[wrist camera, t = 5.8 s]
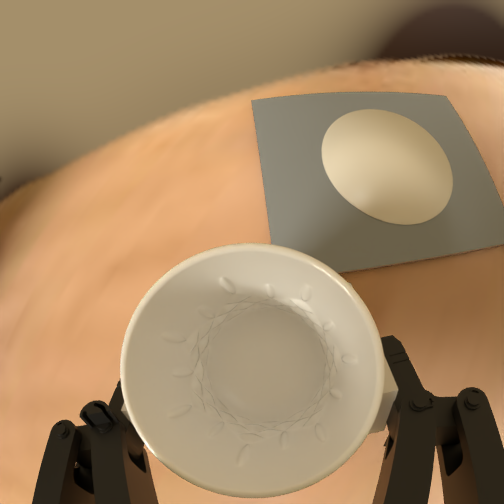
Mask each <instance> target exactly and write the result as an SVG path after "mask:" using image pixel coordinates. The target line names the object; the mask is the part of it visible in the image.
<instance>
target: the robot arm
mask: <svg viewBox="0 0 504 504" xmlns="http://www.w3.org/2000/svg"><path fill="white" fill-rule="evenodd" d="M349 284H350V285H351V286H352V284H351V283H349ZM352 288H353V286H352ZM381 342H382V347H383V352H384V360H385V383H384V391H383V396H382V401H381V405H380V408H379V411H378V414H377V417H376V419H375V421H374V424H373V426H372V428H371V430H370V431H369V433H368V434H371V433H375V432H379V431H383V430H384V429H385V426H386V424H387V426H388V430H389V435H388V437H387V439H386V442H385V444H384V446H386V448H385V453H384V458H383V463H382V467H381V472H380V476H379V480H378V484H377V488H376V492H375V496H374V499H373V503H372V504H428V498H429V492H430V486H431V479H432V471H433V463H434V453H435V446H436V448H437V453H438V459H439V465H440V472H441V479H442V487H443V496H444V504H504V448H503V445H502V441H501V438H500V434H499V431H498V428H497V425H496V422H495V419H494V416H493V413H492V410H491V407H490V404H489V402H488V399H487V397H486V395H485V393H484V392H483V391H481V390H480V389H478V388H474V387H470V388H466V389H464V390H462V391H461V392H460V393H459V394H458V396H457V397H437V396H434V395H433V394H432V393H430V392H429V391H427V390H425V389H424V388H423V386H422V384H421V382H420V380H419V378H418V376H417V374H416V372H415V369H414V367H413V365H412V363H411V361H409V357H408V355H407V353H406V351H405V349H404V347H403V345H402V343H401V342H400V341H399V340H397V339H396V338H395V337H394V336H393V335H391V336H387V337H382V338H381ZM80 418H81V419H82V420H83V421H84V422H85V423H86V424H87V425H83V426H75V425H74V424H73V423H72V422H71V421H69V420H61V421H59V422H57V423H56V424H55V425H54V426H53V428H52V430H51V432H50V436H49V439H48V442H47V445H46V449H45V452H44V456H43V460H42V463H41V467H40V471H39V475H38V479H37V483H36V488H35V492H34V497H33V502H32V504H158V500H157V496H156V492H155V488H154V484H153V479H152V475H151V470H150V466H149V461H148V456H147V453H146V450H145V449H144V448H143V447H144V442H143V441H142V439H141V438H140V436H139V434H138V433H137V431H136V429H135V427H134V425H133V423H132V421H131V419H130V417H129V414H128V411H127V409H126V405H125V402H124V398H123V393H122V388H121V379H120V381H119V382H118V384H117V388H116V389H115V391H114V394H113V396H112V398H111V401H110V403H109V406H108V405H107V404H106V403H105V402H103V401H100V400H98V401H92V402H90V403H88V404H87V405H85V406H84V407H83V409H82V410H81V412H80ZM76 462H77V463H76ZM75 464H76V466H75Z"/></svg>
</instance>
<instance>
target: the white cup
mask: <svg viewBox="0 0 504 504" xmlns="http://www.w3.org/2000/svg"><path fill="white" fill-rule="evenodd" d="M120 379H121V388H122V393H123V398H124V402H125V405H126V409H127V411H128V414H129V417H130V419H131V421H132V423H133V425H134V427H135V429H136V431H137V433H138V434H139V436H140V438H141V439H142V441H143V442H144V443H145V445H146V446H147V447H148V449H149V450H150V451H151V452H152V453H153V454H154V456H155V457H156V458H157V459H158V460H159V461H160V462H162V463H163V464H164V465H165V466H166V467H167V468H169V469H170V470H171V471H172V472H174V473H175V474H177V475H178V476H180V477H181V478H183V479H185V480H186V481H188V482H190V483H192V484H194V485H196V486H198V487H201V488H203V489H206V490H208V491H211V492H215V493H218V494H222V495H227V496H232V497H240V498H267V497H275V496H280V495H285V494H289V493H293V492H296V491H299V490H301V489H304V488H306V487H309V486H311V485H313V484H315V483H317V482H319V481H321V480H322V479H324V478H326V477H327V476H329V475H330V474H332V473H333V472H334V471H336V470H337V469H338V468H339V467H341V466H342V465H343V464H344V463H345V462H346V461H347V460H348V459H349V458H350V457H351V456H352V455H353V454H354V453H355V452H356V450H357V449H358V448H359V447H360V445H361V444H362V443H363V441H364V440H365V438H366V437H367V435H368V433H369V431H370V430H371V428H372V426H373V424H374V421H375V419H376V417H377V414H378V411H379V408H380V405H381V401H382V396H383V391H384V383H385V360H384V352H383V347H382V342H381V338H380V335H379V332H378V329H377V326H376V324H375V322H374V319H373V317H372V315H371V313H370V311H369V310H368V308H367V306H366V305H365V303H364V302H363V300H362V299H361V297H360V296H359V295H358V293H357V292H356V291H355V290H354V289H353V288H352V286H351V285H350V284H349V283H348V282H347V281H346V280H345V279H344V278H342V277H341V276H340V275H339V274H338V273H337V272H335V271H334V270H333V269H331V268H330V267H328V266H327V265H325V264H324V263H322V262H320V261H319V260H317V259H315V258H313V257H311V256H309V255H307V254H304V253H302V252H299V251H297V250H294V249H291V248H287V247H283V246H278V245H273V244H265V243H237V244H230V245H224V246H220V247H216V248H212V249H209V250H206V251H203V252H201V253H198V254H196V255H194V256H192V257H190V258H188V259H186V260H184V261H182V262H181V263H179V264H178V265H176V266H175V267H173V268H172V269H171V270H169V271H168V272H167V273H165V274H164V275H163V276H162V277H161V278H160V279H159V280H158V281H157V282H156V283H155V284H154V285H153V286H152V287H151V288H150V289H149V291H148V292H147V293H146V294H145V296H144V297H143V298H142V300H141V301H140V303H139V305H138V306H137V308H136V310H135V312H134V314H133V316H132V318H131V320H130V322H129V325H128V327H127V330H126V333H125V337H124V341H123V345H122V351H121V360H120Z"/></svg>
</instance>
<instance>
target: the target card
mask: <svg viewBox="0 0 504 504" xmlns="http://www.w3.org/2000/svg"><path fill="white" fill-rule="evenodd" d="M251 102H252V108H253V115H254V121H255V128H256V135H257V142H258V148H259V155H260V162H261V169H262V177H263V184H264V191H265V198H266V206H267V213H268V221H269V228H270V236H271V244H273V245H278V246H283V247H287V248H291V249H294V250H297V251H299V252H302V253H304V254H307V255H309V256H311V257H313V258H315V259H317V260H319V261H320V262H322V263H324V264H325V265H327V266H328V267H330V268H331V269H333V270H334V271H335V272H337V273H338V274H340V273H347V272H354V271H360V270H367V269H373V268H379V267H386V266H392V265H398V264H404V263H410V262H416V261H422V260H427V259H433V258H439V257H444V256H450V255H455V254H460V253H466V252H471V251H476V250H481V249H486V248H491V247H496V246H501V245H504V207H503V204H502V202H501V199H500V197H499V194H498V192H497V189H496V187H495V185H494V182H493V180H492V178H491V176H490V173H489V171H488V169H487V167H486V165H485V163H484V161H483V159H482V157H481V155H480V153H479V151H478V149H477V147H476V145H475V143H474V141H473V140H472V138H471V136H470V134H469V132H468V131H467V129H466V127H465V125H464V124H463V122H462V120H461V119H460V117H459V115H458V114H457V112H456V111H455V109H454V107H453V106H452V104H451V103H450V101H449V100H448V98H447V97H446V96H441V95H430V94H417V93H399V92H336V93H317V94H304V95H292V96H283V97H274V98H266V99H258V100H251Z"/></svg>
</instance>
